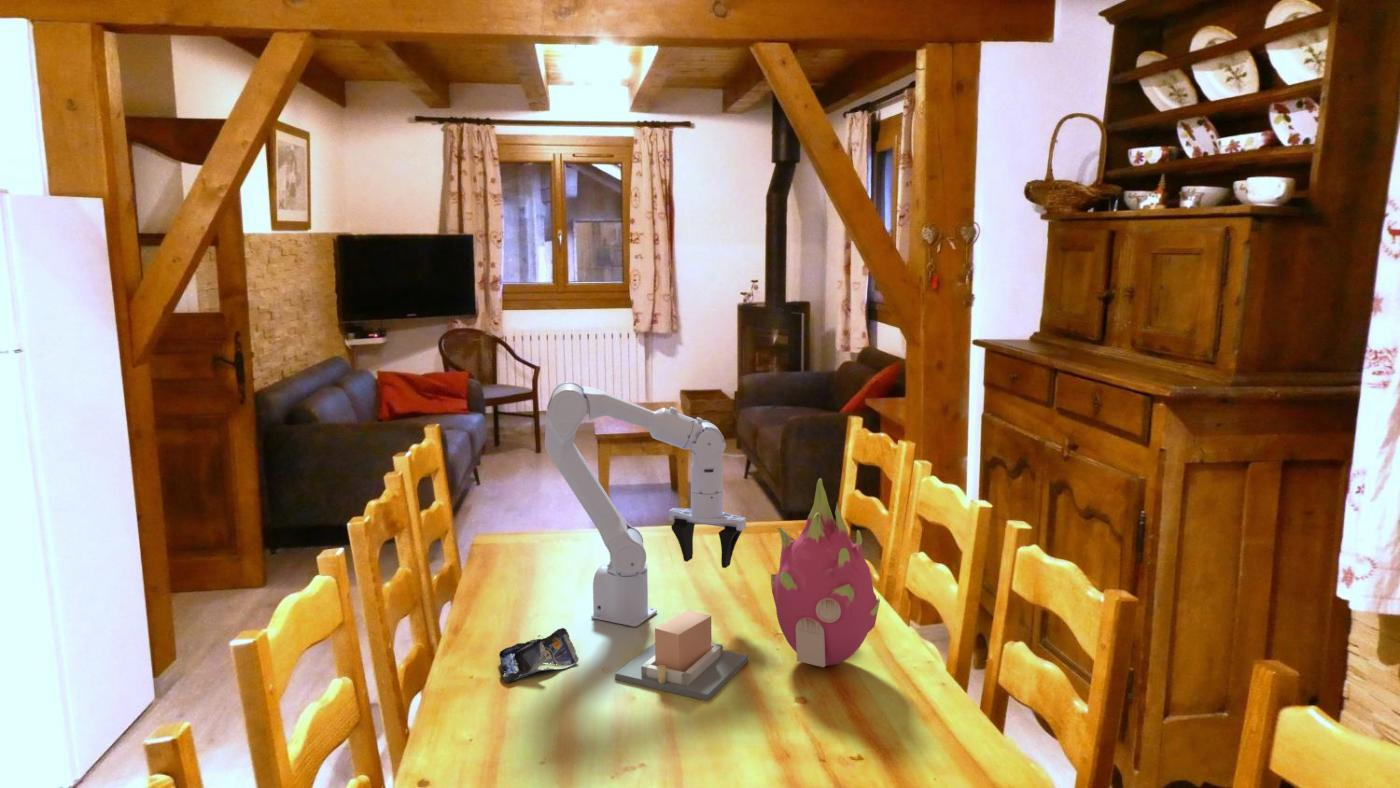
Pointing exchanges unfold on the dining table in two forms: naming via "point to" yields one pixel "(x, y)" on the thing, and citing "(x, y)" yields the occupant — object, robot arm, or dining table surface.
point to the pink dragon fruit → (824, 589)
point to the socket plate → (685, 673)
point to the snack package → (537, 655)
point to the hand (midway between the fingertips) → (706, 563)
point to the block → (683, 640)
